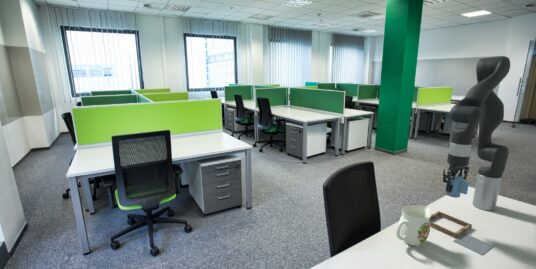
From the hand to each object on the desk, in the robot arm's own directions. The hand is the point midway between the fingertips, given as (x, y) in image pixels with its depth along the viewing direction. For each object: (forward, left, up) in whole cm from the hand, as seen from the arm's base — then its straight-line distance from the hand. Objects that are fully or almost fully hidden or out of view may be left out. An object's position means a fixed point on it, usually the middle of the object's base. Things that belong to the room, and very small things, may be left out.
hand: (453, 190), depth 115 cm
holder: (-1, -1, -17) cm, 17 cm away
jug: (0, +1, -2) cm, 2 cm away
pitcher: (+24, -2, -18) cm, 30 cm away
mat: (+4, +12, -17) cm, 22 cm away
